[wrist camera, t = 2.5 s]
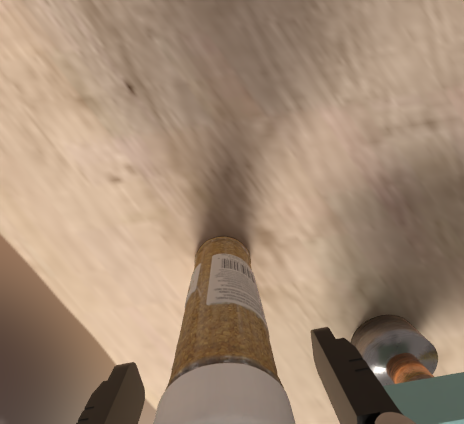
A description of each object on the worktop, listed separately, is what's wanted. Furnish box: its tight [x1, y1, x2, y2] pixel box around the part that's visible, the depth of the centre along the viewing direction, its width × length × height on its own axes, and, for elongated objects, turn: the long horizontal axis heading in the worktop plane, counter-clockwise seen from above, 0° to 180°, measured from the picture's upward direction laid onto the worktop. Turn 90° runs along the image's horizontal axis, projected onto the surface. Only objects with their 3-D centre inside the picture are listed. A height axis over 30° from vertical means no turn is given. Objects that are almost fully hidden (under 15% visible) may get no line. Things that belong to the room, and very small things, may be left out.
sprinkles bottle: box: [153, 237, 295, 424], centre depth 13 cm, size 5×5×13 cm
